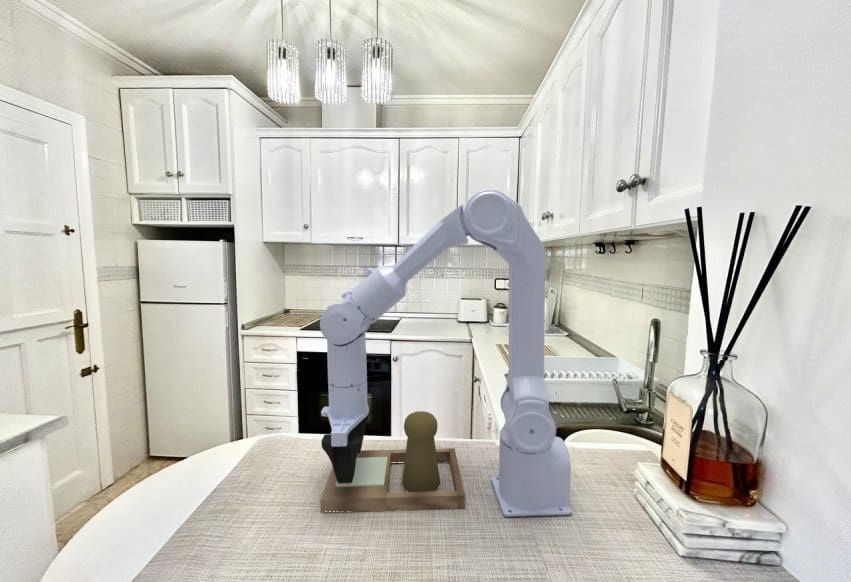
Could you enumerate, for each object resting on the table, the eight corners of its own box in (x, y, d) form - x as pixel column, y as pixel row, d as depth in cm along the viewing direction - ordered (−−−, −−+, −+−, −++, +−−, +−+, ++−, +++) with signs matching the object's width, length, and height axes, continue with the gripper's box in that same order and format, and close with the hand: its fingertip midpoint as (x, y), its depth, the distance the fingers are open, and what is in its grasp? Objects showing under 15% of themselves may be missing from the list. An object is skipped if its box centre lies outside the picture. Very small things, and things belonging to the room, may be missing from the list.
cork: (436, 497, 51) (436, 426, 50) (397, 492, 52) (396, 422, 51) (443, 472, 57) (443, 408, 56) (407, 468, 58) (406, 405, 57)
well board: (454, 459, 61) (454, 447, 60) (464, 508, 49) (464, 493, 49) (339, 462, 60) (338, 449, 60) (320, 512, 48) (320, 498, 48)
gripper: (332, 366, 60) (334, 441, 61) (306, 401, 45) (310, 499, 46) (373, 365, 60) (374, 440, 61) (361, 400, 45) (363, 497, 47)
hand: (350, 465), depth 54 cm, fingers open, 7 cm apart
